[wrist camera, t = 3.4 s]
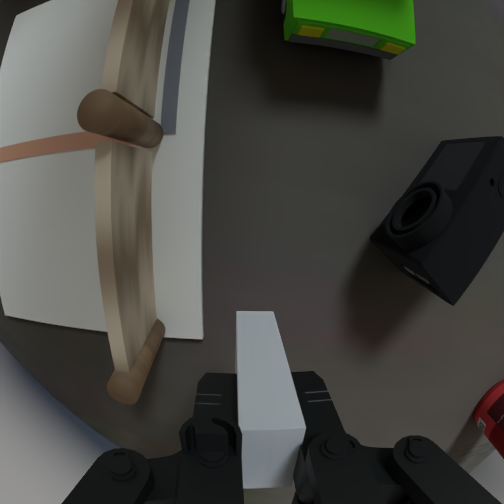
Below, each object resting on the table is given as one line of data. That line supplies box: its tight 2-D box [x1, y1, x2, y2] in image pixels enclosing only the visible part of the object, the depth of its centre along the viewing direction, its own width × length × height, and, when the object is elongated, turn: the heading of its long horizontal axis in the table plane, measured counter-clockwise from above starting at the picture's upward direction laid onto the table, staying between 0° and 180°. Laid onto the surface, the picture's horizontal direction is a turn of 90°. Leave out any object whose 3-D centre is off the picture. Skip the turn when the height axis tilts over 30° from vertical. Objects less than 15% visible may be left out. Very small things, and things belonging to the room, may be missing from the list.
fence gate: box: [94, 141, 165, 405], centre depth 15 cm, size 13×2×7 cm, turn 178°
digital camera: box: [370, 136, 504, 306], centre depth 16 cm, size 10×5×7 cm, turn 140°
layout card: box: [0, 0, 216, 339], centre depth 17 cm, size 28×19×1 cm
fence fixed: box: [77, 0, 170, 148], centre depth 12 cm, size 14×2×8 cm, turn 178°
